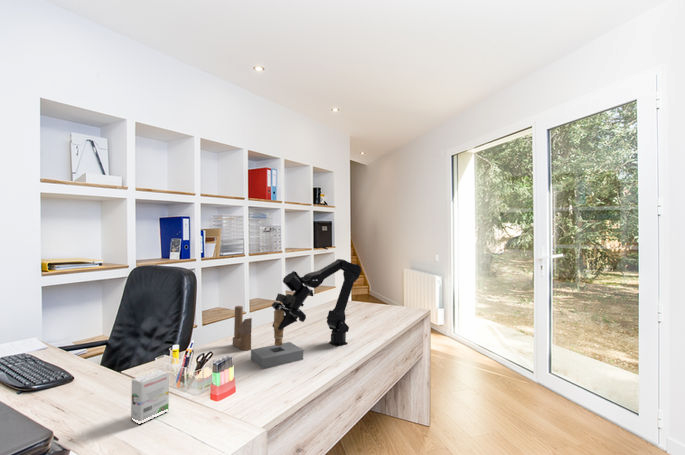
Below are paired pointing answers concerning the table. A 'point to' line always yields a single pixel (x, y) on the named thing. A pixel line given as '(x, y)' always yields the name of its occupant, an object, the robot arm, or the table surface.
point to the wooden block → (242, 330)
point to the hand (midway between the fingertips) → (275, 328)
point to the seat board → (276, 355)
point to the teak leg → (277, 321)
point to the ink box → (149, 395)
